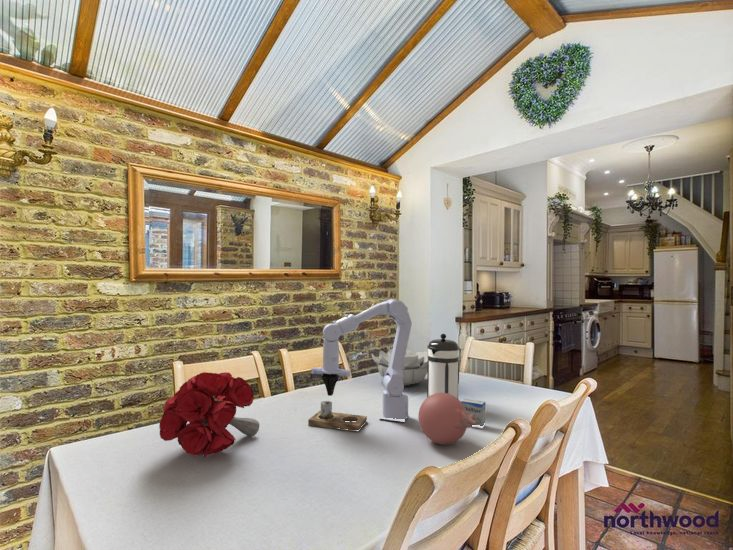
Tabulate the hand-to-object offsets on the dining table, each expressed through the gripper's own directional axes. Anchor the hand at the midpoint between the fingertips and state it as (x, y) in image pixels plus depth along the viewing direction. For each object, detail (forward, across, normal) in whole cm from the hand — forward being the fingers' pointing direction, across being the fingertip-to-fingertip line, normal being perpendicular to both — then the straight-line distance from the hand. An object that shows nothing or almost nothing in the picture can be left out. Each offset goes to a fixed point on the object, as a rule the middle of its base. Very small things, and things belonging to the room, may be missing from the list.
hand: (330, 394), depth 140 cm
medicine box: (+10, +50, +12) cm, 52 cm away
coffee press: (+10, +38, +30) cm, 49 cm away
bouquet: (+9, -24, -33) cm, 42 cm away
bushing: (+9, -1, -2) cm, 10 cm away
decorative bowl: (+10, +16, +60) cm, 63 cm away
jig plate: (+9, +4, -2) cm, 10 cm away
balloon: (+10, +43, -8) cm, 45 cm away
